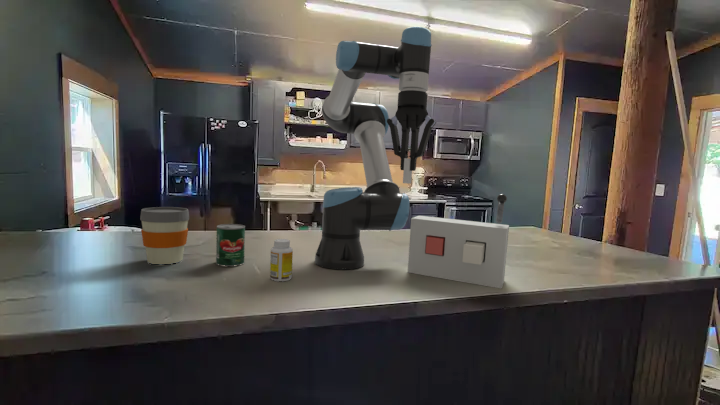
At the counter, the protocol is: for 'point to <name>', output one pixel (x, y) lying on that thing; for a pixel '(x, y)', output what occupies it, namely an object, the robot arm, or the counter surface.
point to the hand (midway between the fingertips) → (407, 183)
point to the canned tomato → (230, 244)
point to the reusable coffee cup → (164, 233)
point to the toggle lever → (500, 207)
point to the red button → (435, 245)
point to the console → (458, 250)
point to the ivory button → (473, 252)
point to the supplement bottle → (281, 260)
